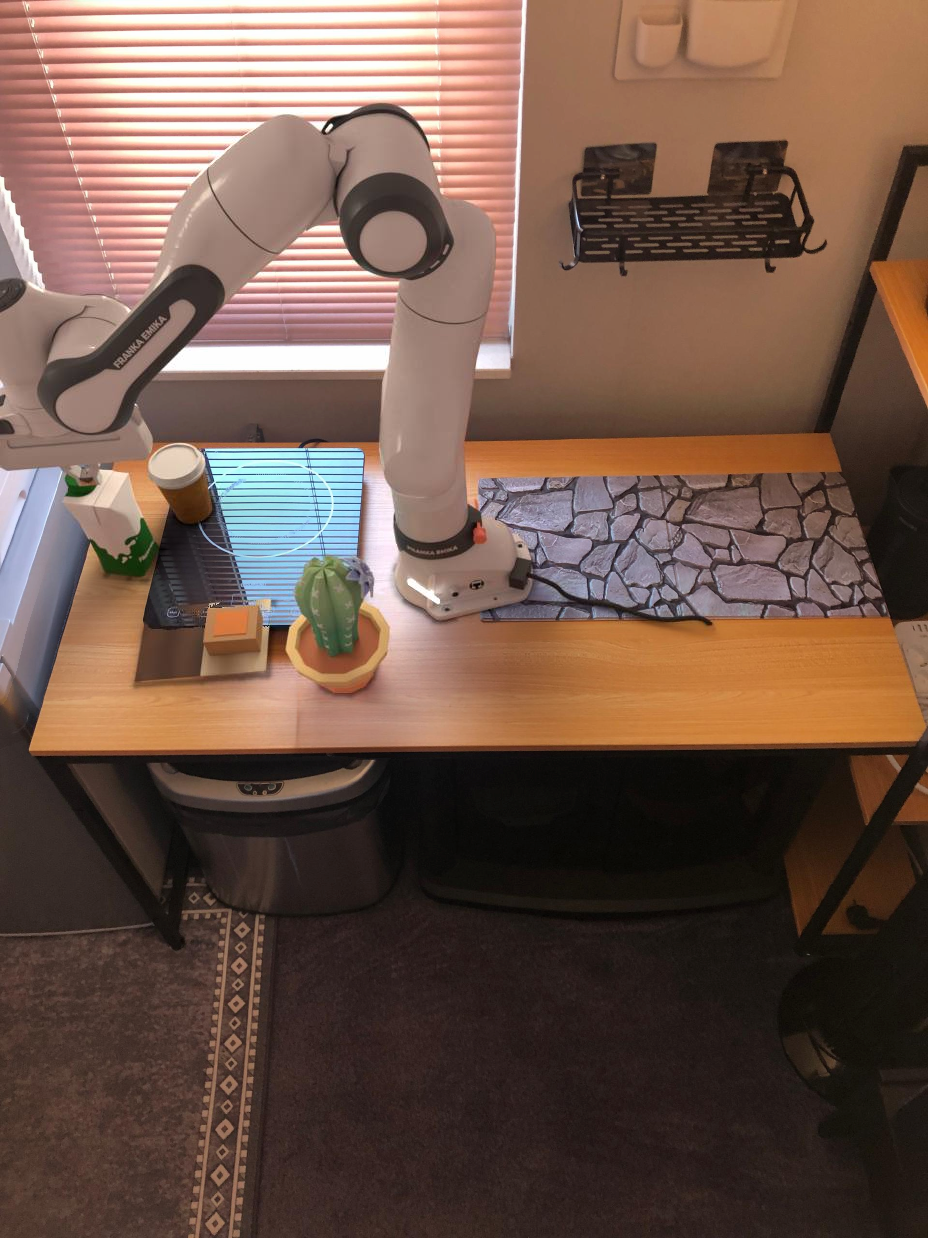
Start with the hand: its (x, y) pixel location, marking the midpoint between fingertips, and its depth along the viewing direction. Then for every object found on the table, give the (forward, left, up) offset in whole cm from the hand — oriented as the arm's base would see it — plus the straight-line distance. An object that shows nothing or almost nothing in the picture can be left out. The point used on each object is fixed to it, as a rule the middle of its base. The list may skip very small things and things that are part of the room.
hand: (91, 482), depth 130 cm
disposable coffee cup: (-4, -21, -29) cm, 36 cm away
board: (-9, +8, -29) cm, 31 cm away
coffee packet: (-14, +8, -28) cm, 32 cm away
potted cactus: (-31, +15, -29) cm, 45 cm away
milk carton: (+5, -10, -29) cm, 31 cm away
